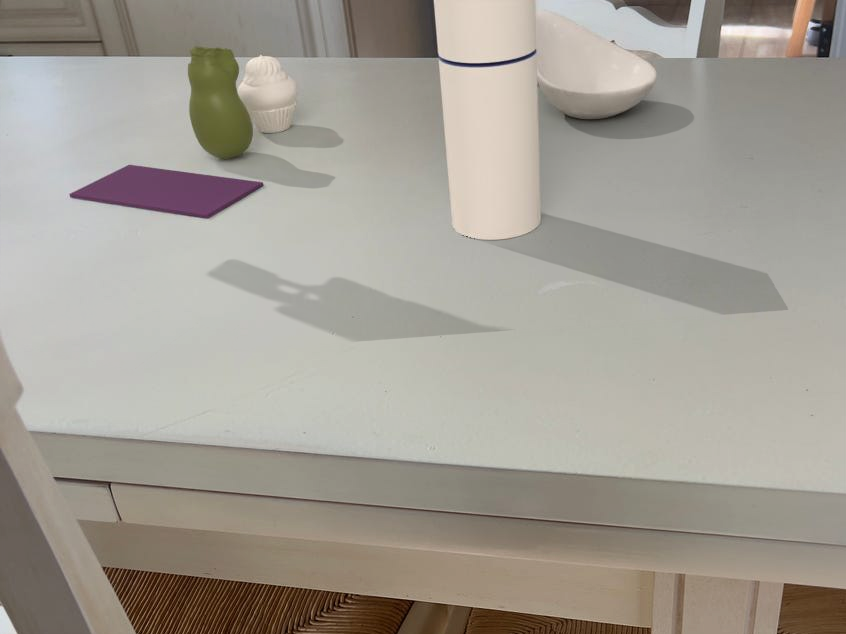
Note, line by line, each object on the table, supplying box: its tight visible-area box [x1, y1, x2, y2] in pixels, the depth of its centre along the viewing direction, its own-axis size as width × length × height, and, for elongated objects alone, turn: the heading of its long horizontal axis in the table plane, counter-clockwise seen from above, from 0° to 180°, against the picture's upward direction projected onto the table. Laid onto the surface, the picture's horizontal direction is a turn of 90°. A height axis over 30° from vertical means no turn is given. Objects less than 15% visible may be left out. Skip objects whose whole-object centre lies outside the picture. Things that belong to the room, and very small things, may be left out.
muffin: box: [237, 54, 299, 134], centre depth 102 cm, size 6×6×7 cm
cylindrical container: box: [433, 0, 542, 241], centre depth 74 cm, size 7×7×25 cm
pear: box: [187, 45, 254, 160], centre depth 95 cm, size 6×5×10 cm
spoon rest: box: [536, 9, 658, 120], centre depth 104 cm, size 24×12×7 cm, turn 28°
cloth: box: [69, 164, 264, 219], centre depth 92 cm, size 16×8×1 cm, turn 63°
